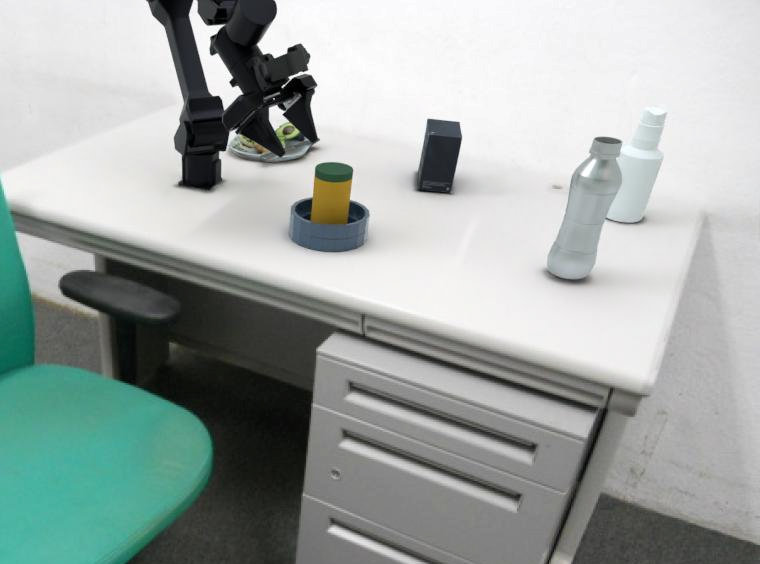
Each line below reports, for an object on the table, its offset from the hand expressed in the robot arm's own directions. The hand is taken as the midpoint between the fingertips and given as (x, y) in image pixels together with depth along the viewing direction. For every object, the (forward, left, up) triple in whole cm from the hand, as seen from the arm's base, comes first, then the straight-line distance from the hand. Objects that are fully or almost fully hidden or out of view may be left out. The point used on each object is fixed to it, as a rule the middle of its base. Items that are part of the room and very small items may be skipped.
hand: (299, 148), depth 120 cm
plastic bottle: (+43, +2, -14) cm, 45 cm away
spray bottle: (+50, +31, -14) cm, 60 cm away
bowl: (+6, -2, -13) cm, 15 cm away
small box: (+17, +33, -14) cm, 39 cm away
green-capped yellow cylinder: (+6, -2, -13) cm, 14 cm away
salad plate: (-18, +38, -14) cm, 44 cm away
